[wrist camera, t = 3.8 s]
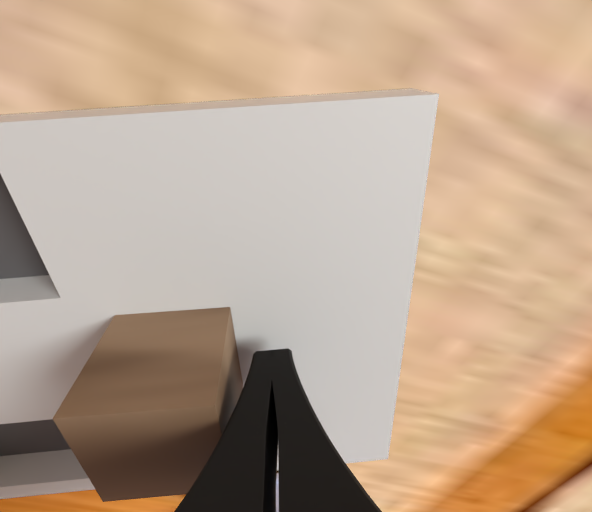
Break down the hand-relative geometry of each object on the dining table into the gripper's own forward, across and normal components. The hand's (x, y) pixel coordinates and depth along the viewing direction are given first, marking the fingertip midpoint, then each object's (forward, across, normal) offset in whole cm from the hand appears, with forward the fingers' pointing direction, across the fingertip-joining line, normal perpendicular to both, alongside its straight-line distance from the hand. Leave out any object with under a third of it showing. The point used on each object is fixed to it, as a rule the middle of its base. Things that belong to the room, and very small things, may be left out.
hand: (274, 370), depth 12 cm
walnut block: (+1, +3, 0) cm, 4 cm away
